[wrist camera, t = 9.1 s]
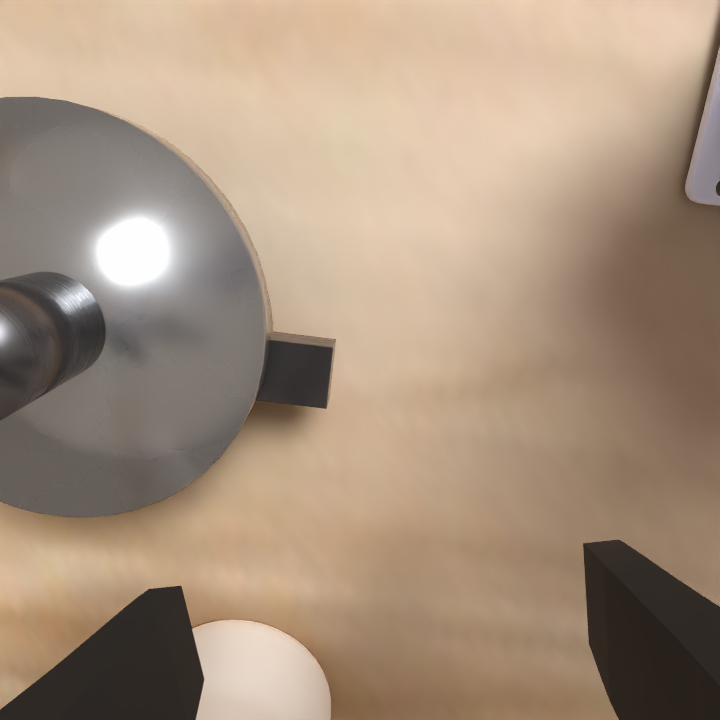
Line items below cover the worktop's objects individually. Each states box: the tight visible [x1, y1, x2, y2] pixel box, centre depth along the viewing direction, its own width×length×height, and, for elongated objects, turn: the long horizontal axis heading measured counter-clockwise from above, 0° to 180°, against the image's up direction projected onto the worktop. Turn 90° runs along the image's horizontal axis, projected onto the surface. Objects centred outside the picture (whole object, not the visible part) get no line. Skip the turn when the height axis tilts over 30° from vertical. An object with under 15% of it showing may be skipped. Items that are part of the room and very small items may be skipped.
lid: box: [0, 97, 271, 517], centre depth 15 cm, size 11×11×5 cm
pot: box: [256, 292, 336, 409], centre depth 19 cm, size 14×10×4 cm
